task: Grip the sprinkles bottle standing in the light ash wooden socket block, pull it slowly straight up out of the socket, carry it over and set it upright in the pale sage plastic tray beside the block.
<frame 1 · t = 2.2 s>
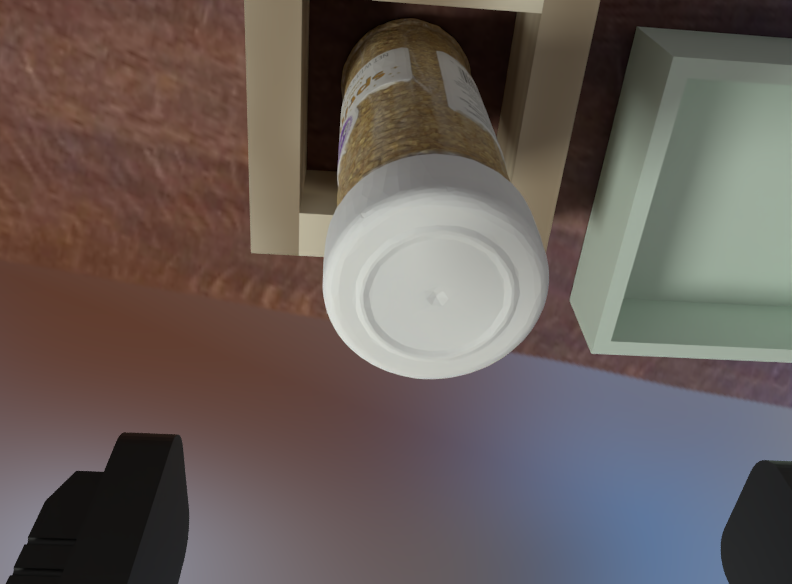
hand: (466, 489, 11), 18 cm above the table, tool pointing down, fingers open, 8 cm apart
socket block: (407, 84, 26), on the table
sprinkles bottle: (406, 82, 26), resting in socket block
tray: (741, 186, 29), on the table
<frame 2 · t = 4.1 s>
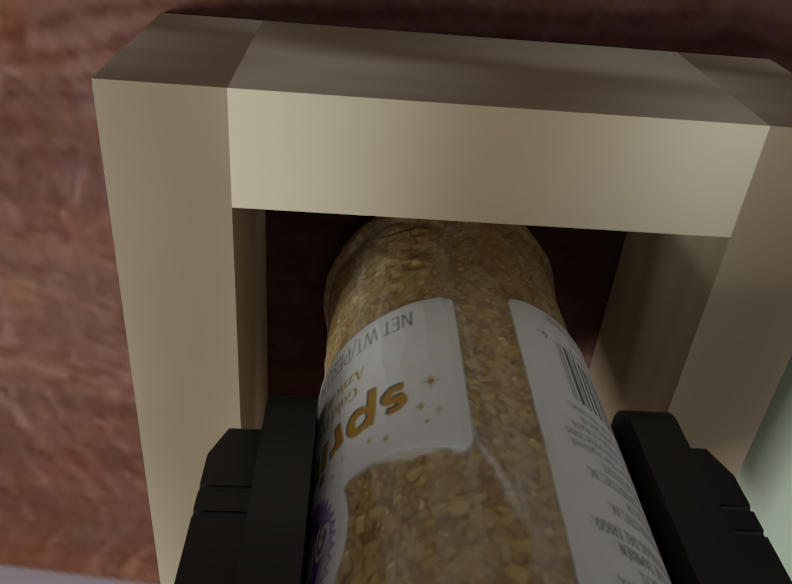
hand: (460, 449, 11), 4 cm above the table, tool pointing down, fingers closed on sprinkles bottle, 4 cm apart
socket block: (439, 294, 15), on the table
sprinkles bottle: (438, 288, 15), resting in socket block, touching gripper
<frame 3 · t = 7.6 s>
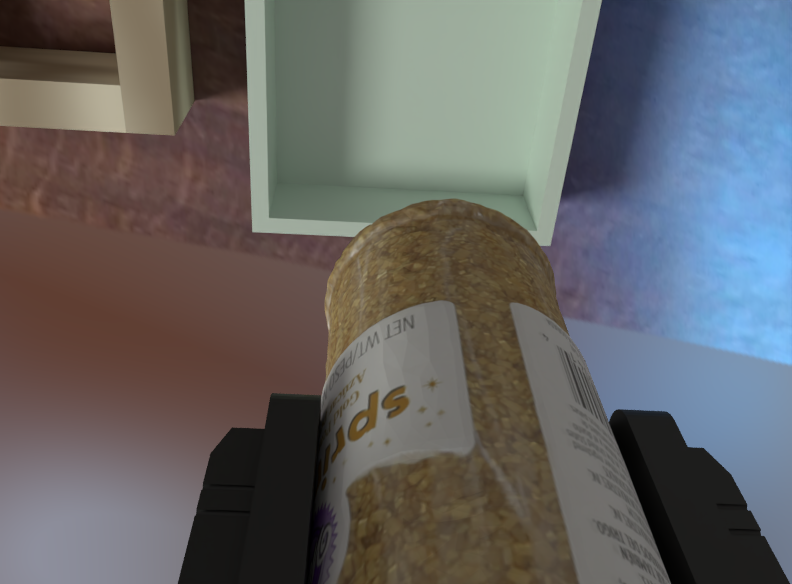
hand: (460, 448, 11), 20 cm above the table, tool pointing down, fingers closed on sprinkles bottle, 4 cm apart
sprinkles bottle: (439, 291, 15), point 15 cm above the table, touching gripper
tray: (410, 61, 28), on the table
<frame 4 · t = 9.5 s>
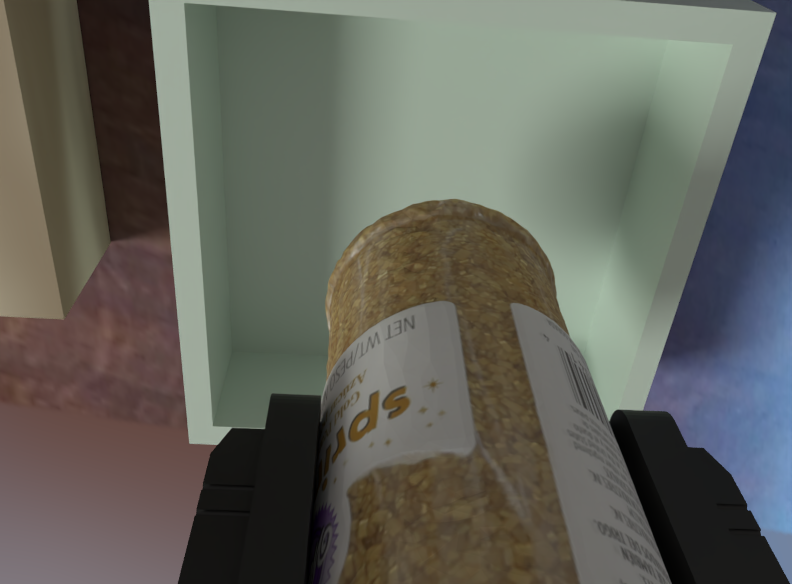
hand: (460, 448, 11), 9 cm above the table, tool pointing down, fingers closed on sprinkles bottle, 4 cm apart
sprinkles bottle: (440, 291, 15), point 5 cm above the table, touching gripper
tray: (425, 190, 19), on the table
when the fingers open (6 cm above the table, at t = 11.0 s): sprinkles bottle drops 1 cm, resting on tray.
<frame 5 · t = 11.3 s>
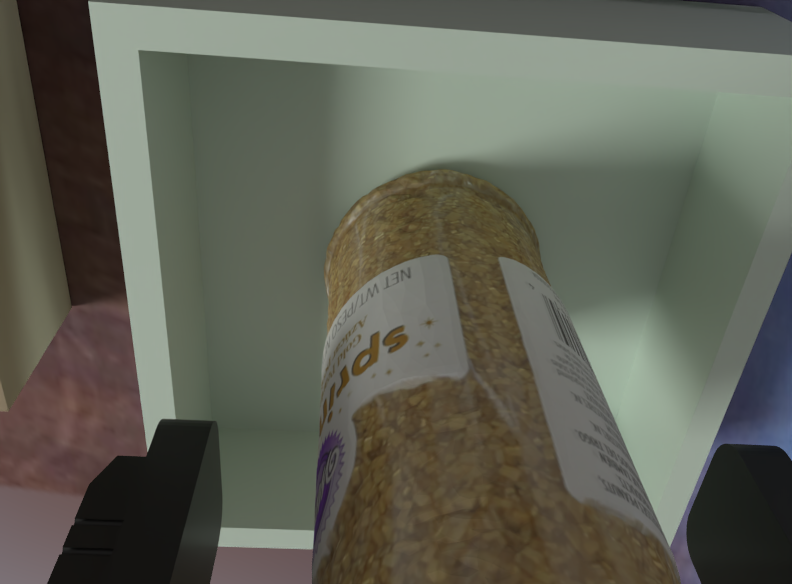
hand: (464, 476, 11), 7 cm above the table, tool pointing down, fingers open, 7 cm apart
sprinkles bottle: (431, 260, 16), resting on tray
tray: (433, 250, 16), on the table
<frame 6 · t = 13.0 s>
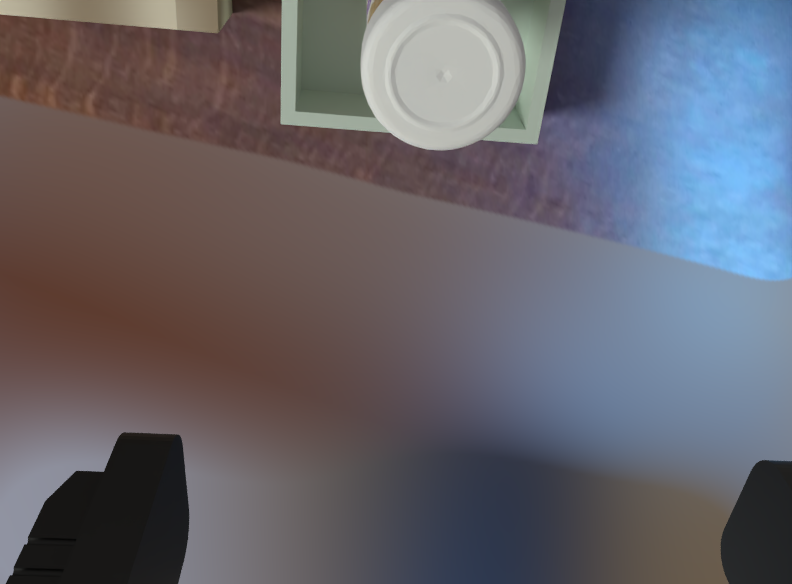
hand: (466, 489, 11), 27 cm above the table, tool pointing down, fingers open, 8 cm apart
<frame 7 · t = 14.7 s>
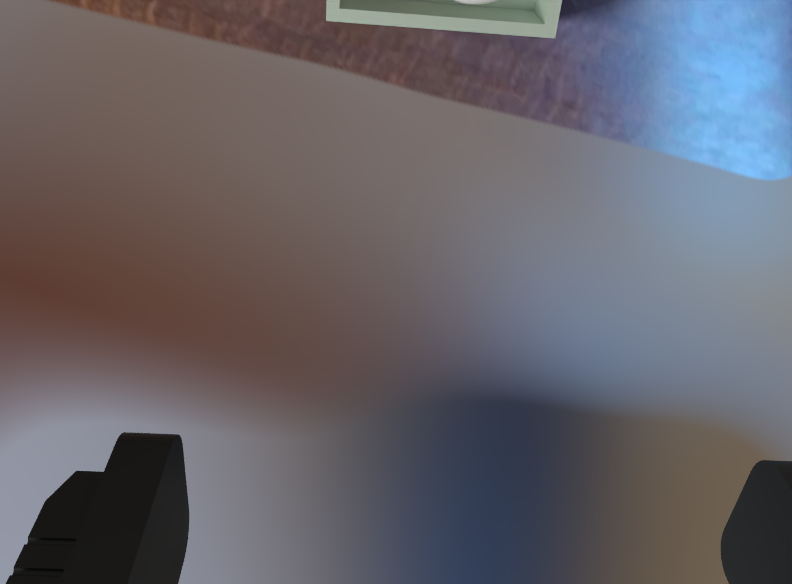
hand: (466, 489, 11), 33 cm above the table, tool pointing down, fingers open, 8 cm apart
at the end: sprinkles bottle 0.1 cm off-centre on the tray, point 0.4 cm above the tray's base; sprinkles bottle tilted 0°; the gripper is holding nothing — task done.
